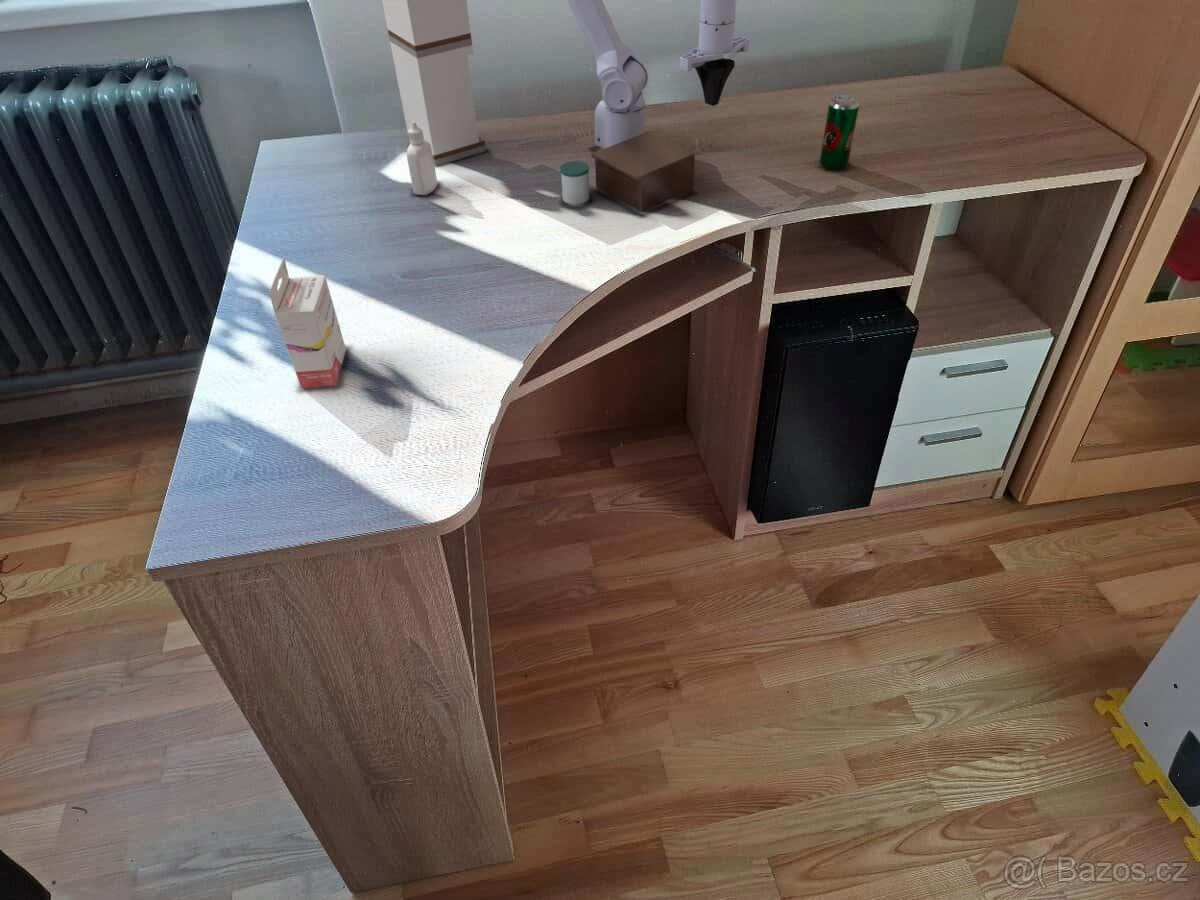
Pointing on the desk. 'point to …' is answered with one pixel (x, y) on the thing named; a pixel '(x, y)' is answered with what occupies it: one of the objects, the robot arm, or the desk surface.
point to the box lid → (642, 155)
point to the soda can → (839, 131)
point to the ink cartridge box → (308, 327)
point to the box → (646, 184)
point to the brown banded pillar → (435, 73)
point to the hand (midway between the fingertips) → (711, 103)
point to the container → (575, 182)
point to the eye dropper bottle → (420, 162)
